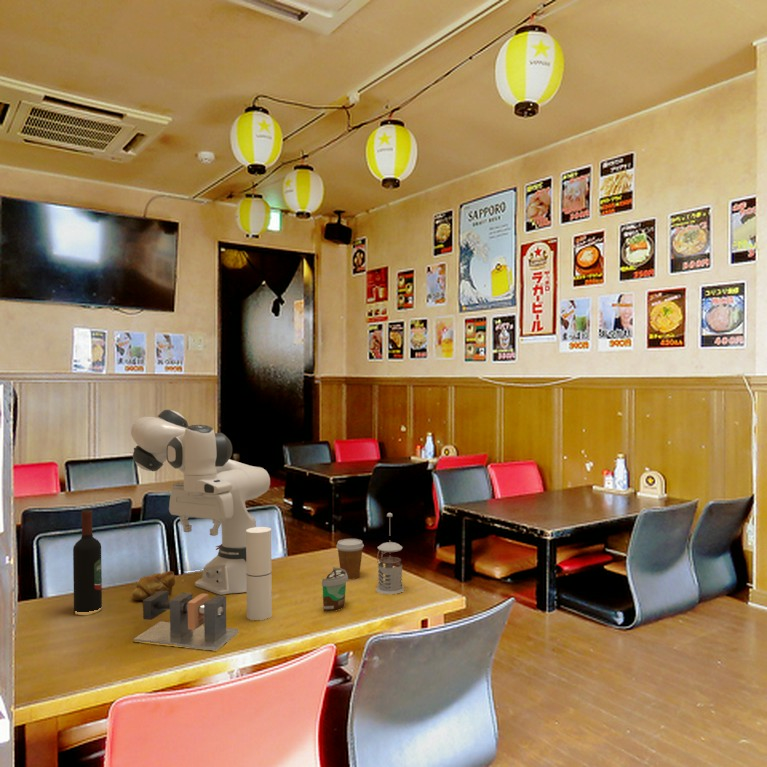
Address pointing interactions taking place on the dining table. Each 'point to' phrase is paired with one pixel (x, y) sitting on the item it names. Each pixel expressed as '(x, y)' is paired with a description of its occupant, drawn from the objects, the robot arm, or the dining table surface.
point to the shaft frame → (201, 638)
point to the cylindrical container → (258, 573)
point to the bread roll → (154, 585)
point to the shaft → (163, 605)
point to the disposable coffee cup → (350, 556)
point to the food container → (334, 590)
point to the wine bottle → (87, 568)
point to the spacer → (196, 611)
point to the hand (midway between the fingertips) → (200, 533)
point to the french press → (389, 568)
